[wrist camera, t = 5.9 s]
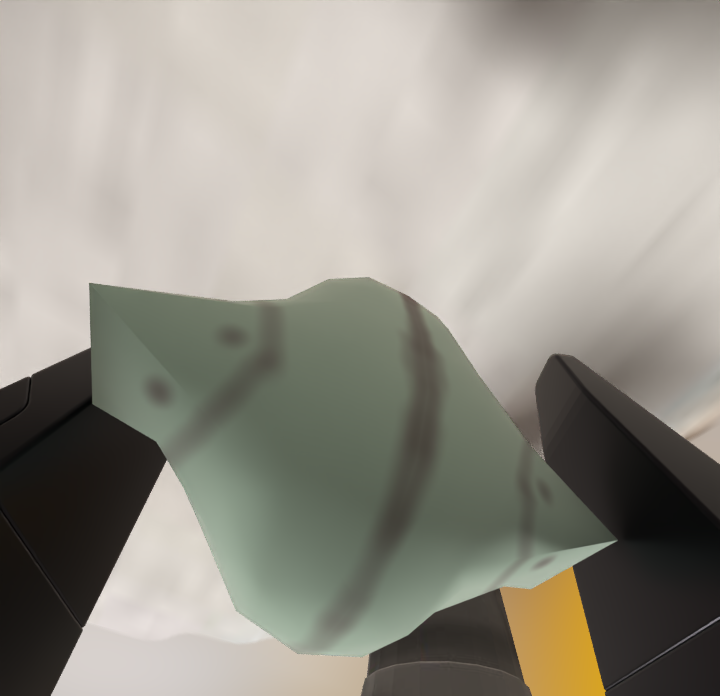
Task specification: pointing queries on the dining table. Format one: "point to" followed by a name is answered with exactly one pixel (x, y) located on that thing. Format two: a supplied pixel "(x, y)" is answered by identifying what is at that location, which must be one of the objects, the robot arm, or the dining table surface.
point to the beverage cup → (451, 655)
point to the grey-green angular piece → (336, 457)
